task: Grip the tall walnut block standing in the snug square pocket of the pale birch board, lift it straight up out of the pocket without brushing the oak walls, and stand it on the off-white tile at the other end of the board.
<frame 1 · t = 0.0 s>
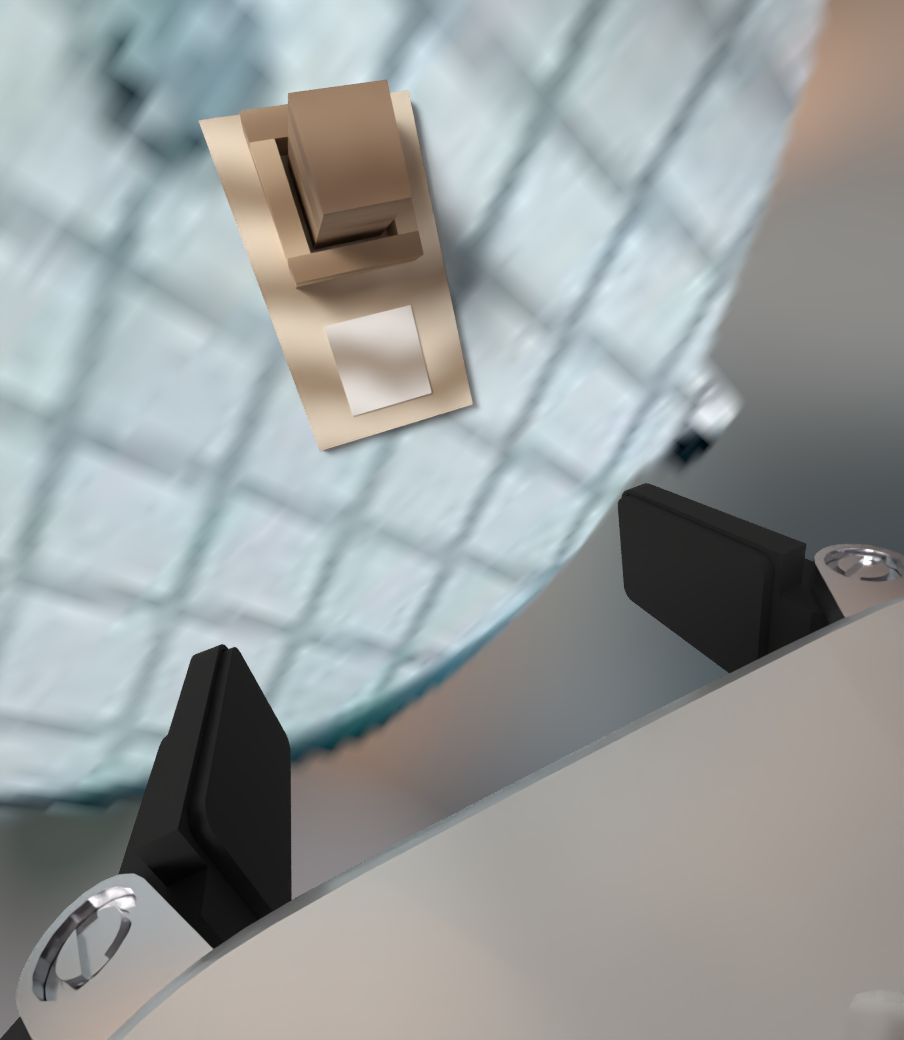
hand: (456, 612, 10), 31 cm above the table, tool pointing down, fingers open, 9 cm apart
walnut block: (336, 202, 32), point 1 cm above the table, touching pocket board
pocket board: (358, 288, 35), on the table
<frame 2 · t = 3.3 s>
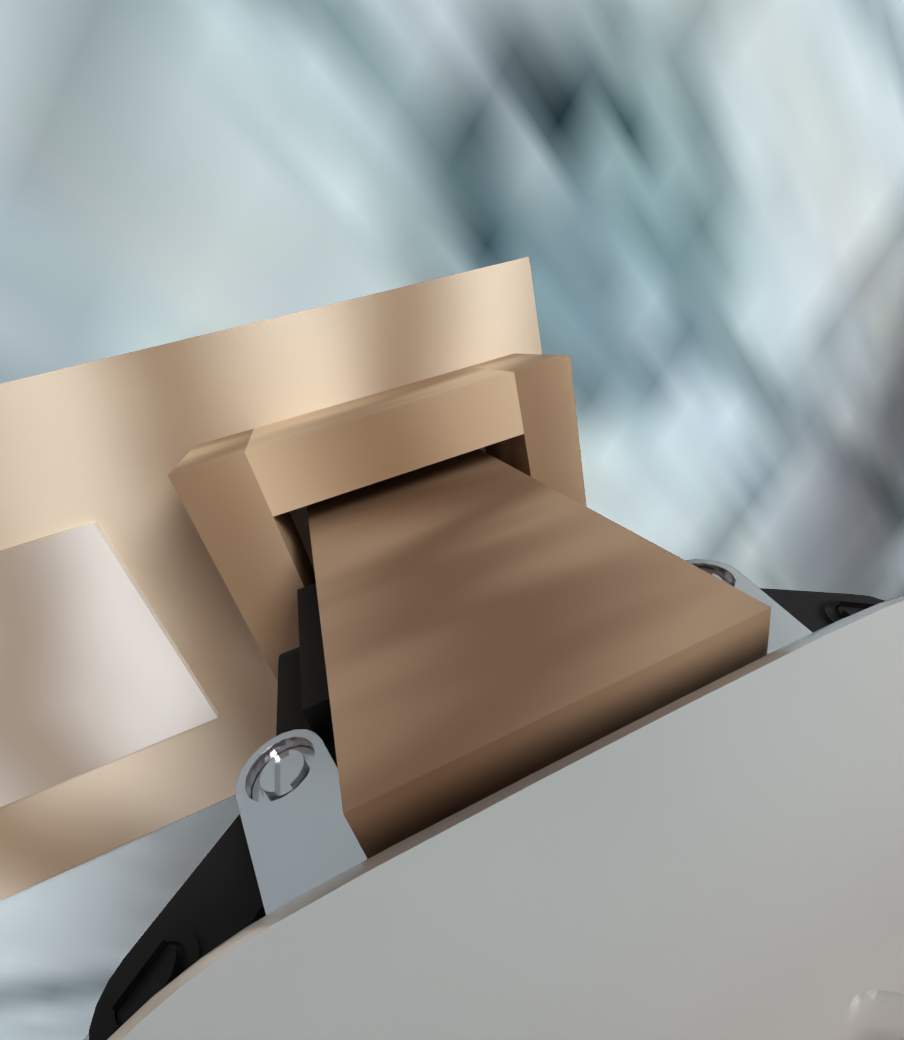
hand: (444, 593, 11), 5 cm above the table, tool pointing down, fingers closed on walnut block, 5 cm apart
walnut block: (410, 538, 14), point 1 cm above the table, touching gripper, pocket board
pocket board: (238, 586, 14), on the table
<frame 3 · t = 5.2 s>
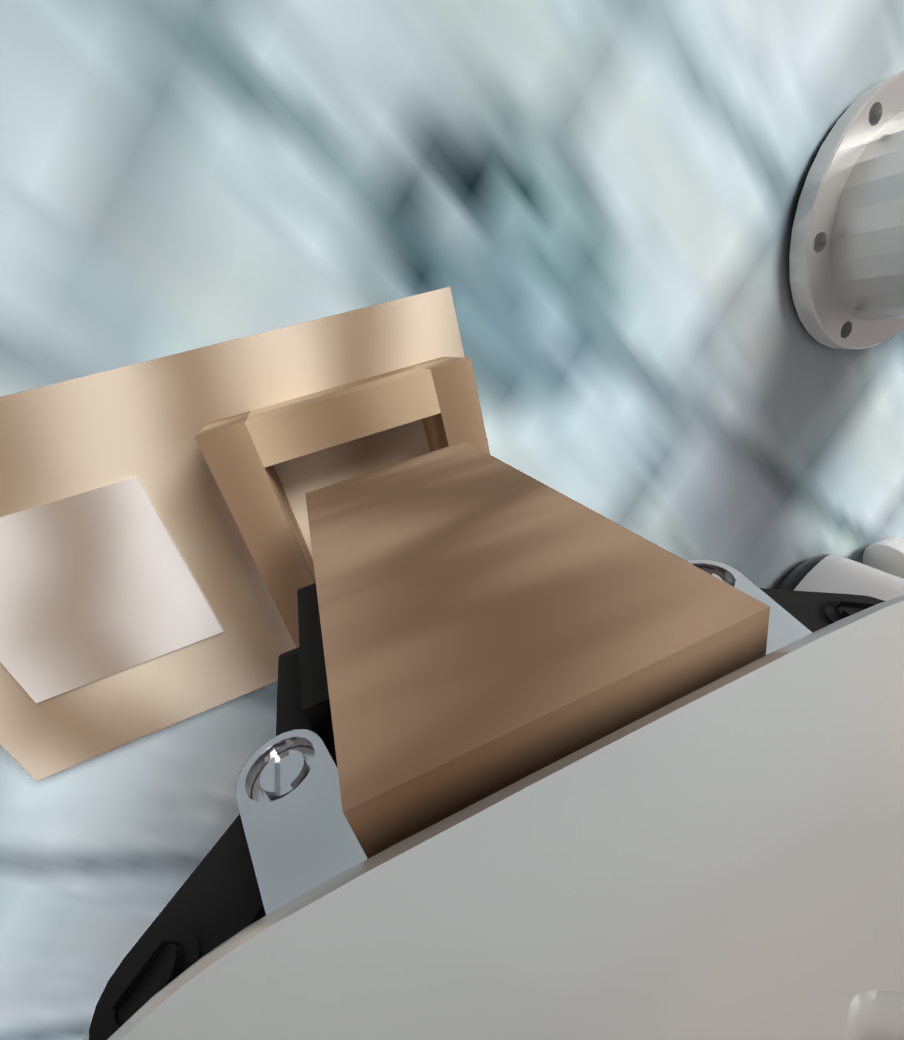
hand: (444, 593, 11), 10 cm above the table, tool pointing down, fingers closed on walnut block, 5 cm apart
walnut block: (410, 538, 14), point 6 cm above the table, touching gripper
pocket board: (239, 532, 19), on the table
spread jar: (815, 583, 35), on the table
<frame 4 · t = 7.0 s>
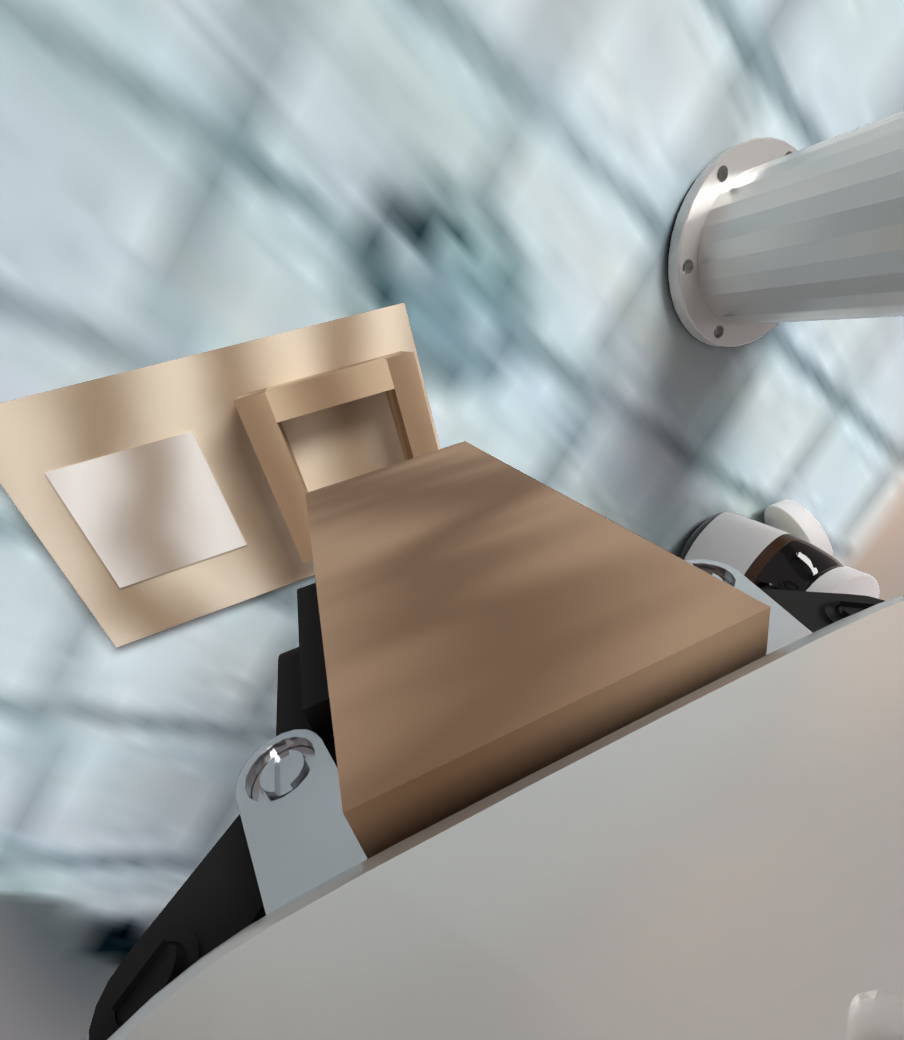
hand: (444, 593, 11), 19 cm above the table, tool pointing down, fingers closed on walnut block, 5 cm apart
walnut block: (410, 538, 14), point 15 cm above the table, touching gripper
pocket board: (257, 475, 27), on the table
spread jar: (723, 539, 43), on the table
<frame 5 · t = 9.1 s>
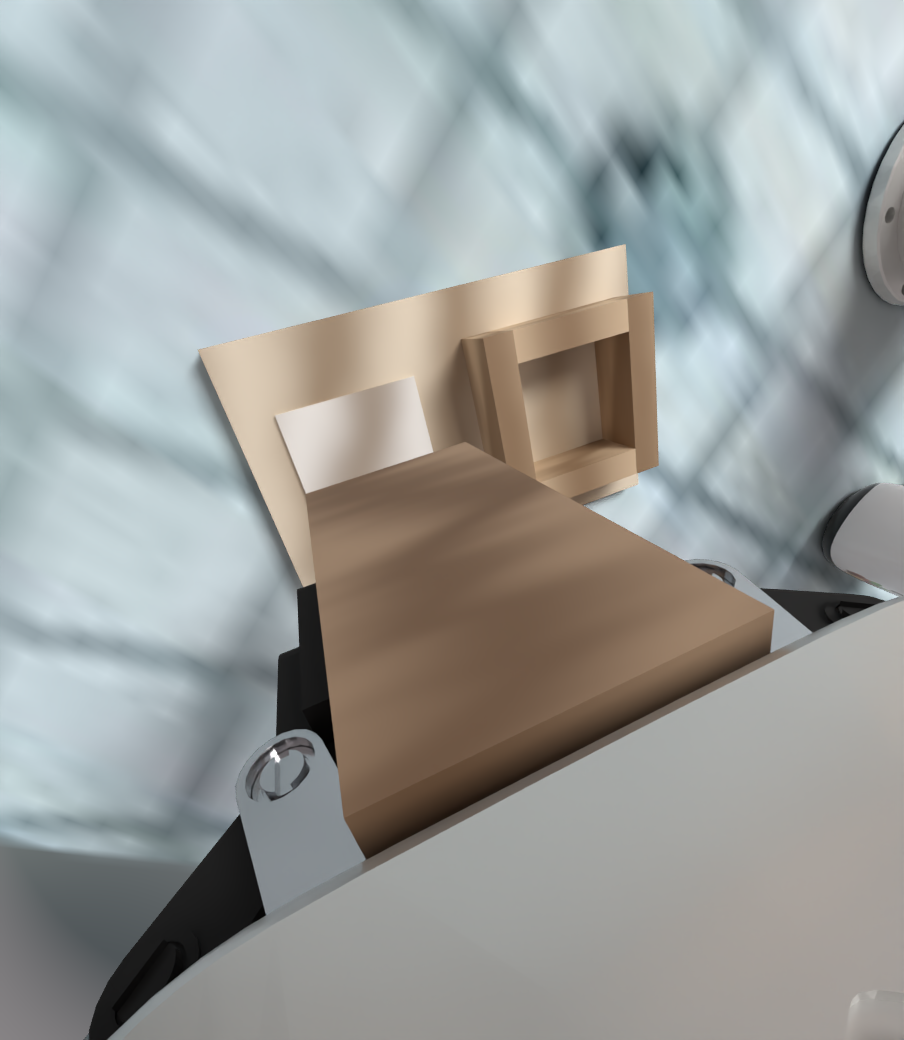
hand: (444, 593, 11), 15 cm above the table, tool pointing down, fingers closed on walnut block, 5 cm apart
walnut block: (410, 539, 14), point 11 cm above the table, touching gripper
pocket board: (457, 427, 26), on the table
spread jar: (865, 514, 41), on the table
when the fingers open (6 cm above the table, at t = 10.9 s): walnut block drops 2 cm, resting on pocket board.
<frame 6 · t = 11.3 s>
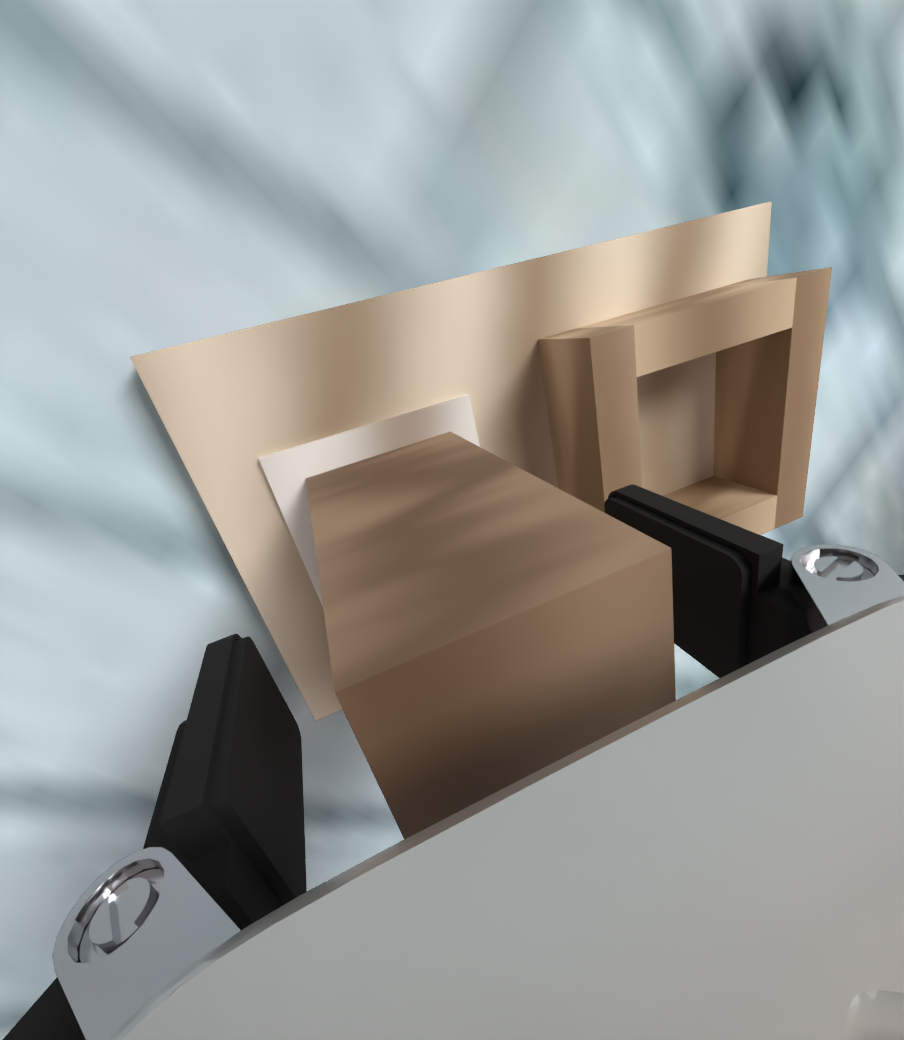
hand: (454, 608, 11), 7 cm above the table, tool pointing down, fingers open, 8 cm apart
walnut block: (401, 520, 16), point 1 cm above the table, touching pocket board
pocket board: (522, 465, 18), on the table
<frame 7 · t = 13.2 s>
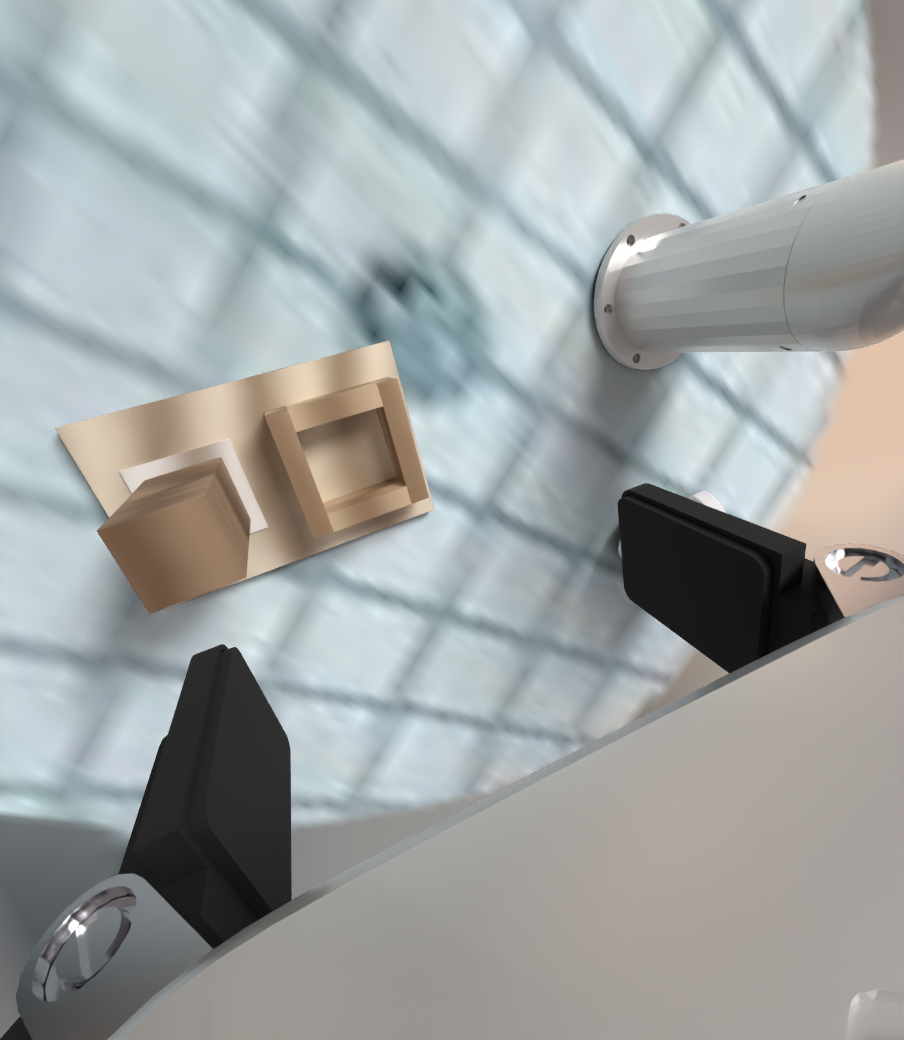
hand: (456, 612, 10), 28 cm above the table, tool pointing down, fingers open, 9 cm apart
walnut block: (200, 500, 32), point 1 cm above the table, touching pocket board
pocket board: (276, 472, 34), on the table
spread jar: (655, 525, 52), on the table
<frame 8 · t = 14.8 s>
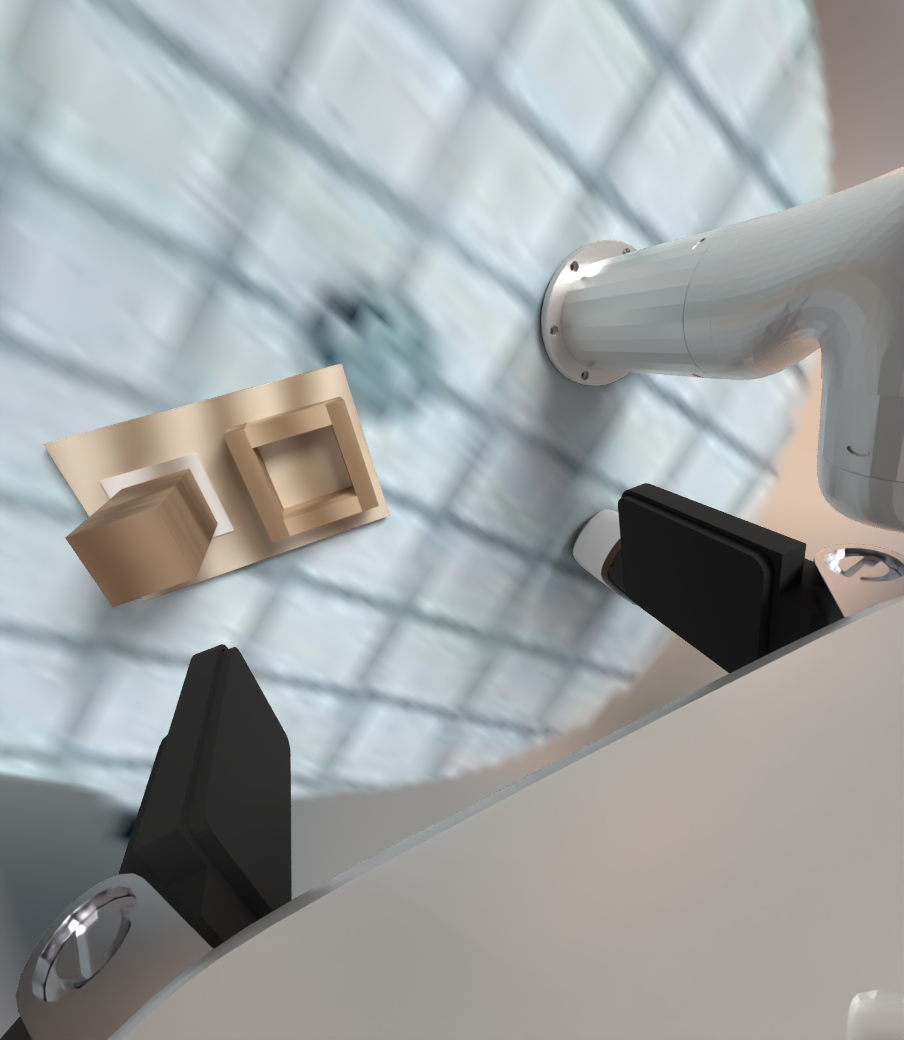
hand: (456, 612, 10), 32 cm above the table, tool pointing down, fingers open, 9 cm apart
walnut block: (171, 506, 36), point 1 cm above the table, touching pocket board
pocket board: (241, 481, 38), on the table
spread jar: (613, 531, 54), on the table
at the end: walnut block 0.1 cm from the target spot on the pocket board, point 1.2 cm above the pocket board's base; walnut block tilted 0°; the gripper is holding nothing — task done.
